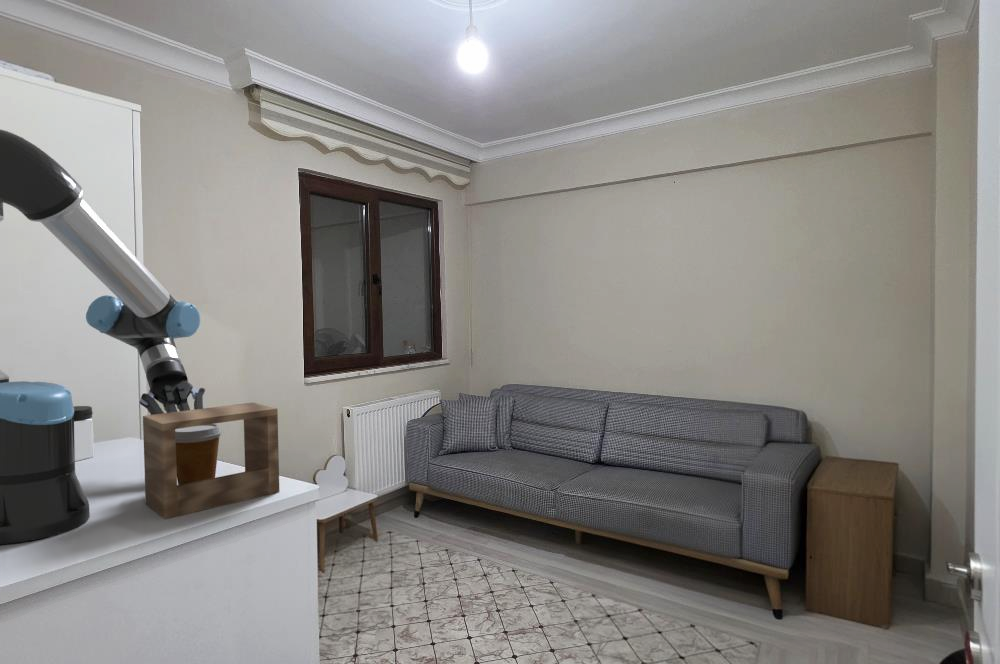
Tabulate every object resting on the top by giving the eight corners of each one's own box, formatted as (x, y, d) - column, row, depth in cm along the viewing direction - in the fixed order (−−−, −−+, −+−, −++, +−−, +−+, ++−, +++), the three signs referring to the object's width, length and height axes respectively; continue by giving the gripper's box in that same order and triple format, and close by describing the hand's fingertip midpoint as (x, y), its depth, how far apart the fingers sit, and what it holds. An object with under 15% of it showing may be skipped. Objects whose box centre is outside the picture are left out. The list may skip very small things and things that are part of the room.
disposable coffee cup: (233, 484, 118) (231, 425, 118) (186, 497, 110) (184, 434, 110) (206, 477, 123) (204, 421, 123) (159, 489, 115) (157, 429, 115)
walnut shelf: (165, 519, 99) (161, 423, 98) (145, 504, 107) (142, 415, 106) (279, 491, 113) (277, 408, 113) (255, 480, 121) (253, 402, 120)
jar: (95, 459, 140) (93, 409, 139) (52, 465, 135) (50, 413, 134) (92, 452, 147) (90, 404, 146) (51, 457, 142) (49, 408, 141)
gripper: (191, 377, 138) (221, 461, 127) (128, 383, 128) (154, 473, 118) (199, 356, 134) (231, 441, 123) (134, 361, 125) (162, 452, 114)
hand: (193, 456), depth 121 cm, fingers closed
